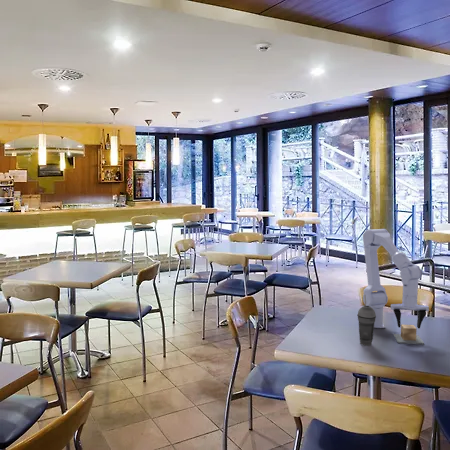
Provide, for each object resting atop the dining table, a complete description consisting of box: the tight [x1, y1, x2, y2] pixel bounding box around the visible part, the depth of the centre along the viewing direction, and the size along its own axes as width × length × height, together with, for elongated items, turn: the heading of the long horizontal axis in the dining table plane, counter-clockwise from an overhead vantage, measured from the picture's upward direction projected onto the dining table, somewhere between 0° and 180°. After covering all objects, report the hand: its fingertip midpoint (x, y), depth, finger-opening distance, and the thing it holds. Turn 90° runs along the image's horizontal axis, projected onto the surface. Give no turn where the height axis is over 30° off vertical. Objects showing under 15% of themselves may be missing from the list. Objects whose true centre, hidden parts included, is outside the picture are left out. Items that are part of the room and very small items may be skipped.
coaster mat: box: [393, 333, 425, 346], centre depth 194 cm, size 10×10×1 cm
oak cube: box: [400, 324, 418, 341], centre depth 194 cm, size 5×5×5 cm
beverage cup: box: [357, 294, 376, 347], centre depth 188 cm, size 7×7×20 cm
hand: (408, 327), depth 193 cm, fingers open, 7 cm apart
